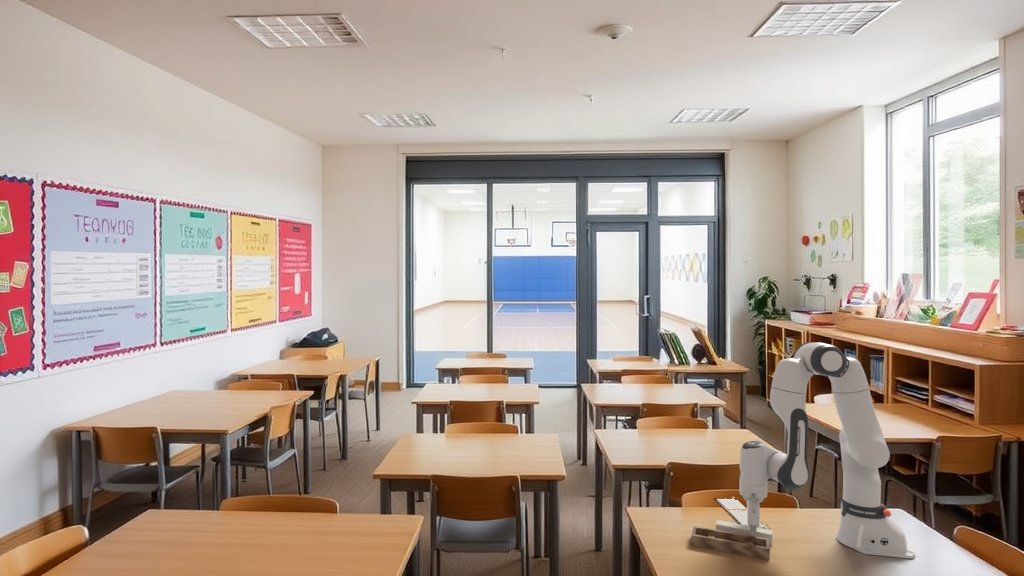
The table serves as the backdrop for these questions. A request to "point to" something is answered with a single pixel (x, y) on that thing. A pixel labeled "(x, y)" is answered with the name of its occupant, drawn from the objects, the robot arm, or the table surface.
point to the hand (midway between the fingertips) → (752, 529)
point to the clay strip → (743, 530)
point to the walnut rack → (731, 542)
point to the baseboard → (738, 515)
